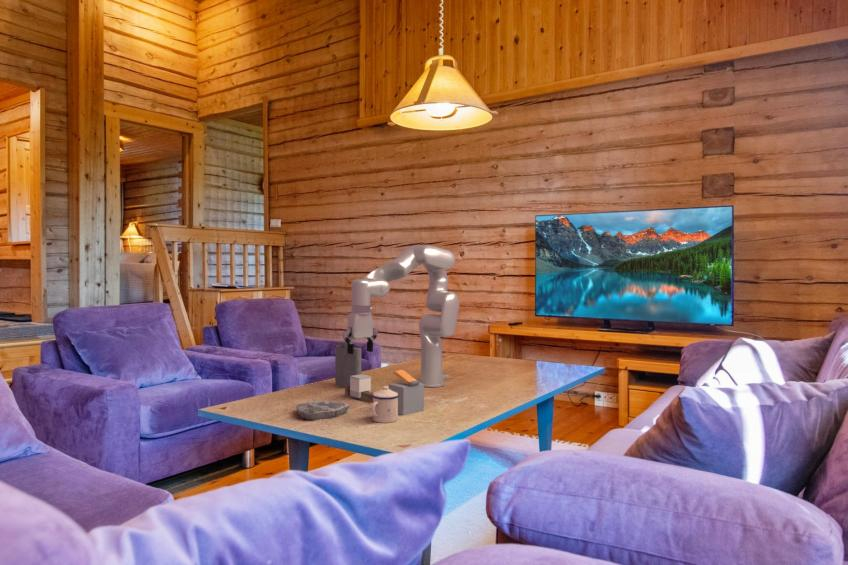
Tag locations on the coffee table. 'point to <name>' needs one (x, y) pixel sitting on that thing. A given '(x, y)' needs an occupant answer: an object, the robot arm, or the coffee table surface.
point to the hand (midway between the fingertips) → (360, 352)
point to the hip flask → (346, 364)
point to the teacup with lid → (385, 405)
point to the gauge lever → (406, 378)
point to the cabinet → (409, 397)
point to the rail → (364, 395)
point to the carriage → (359, 385)
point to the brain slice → (322, 409)
